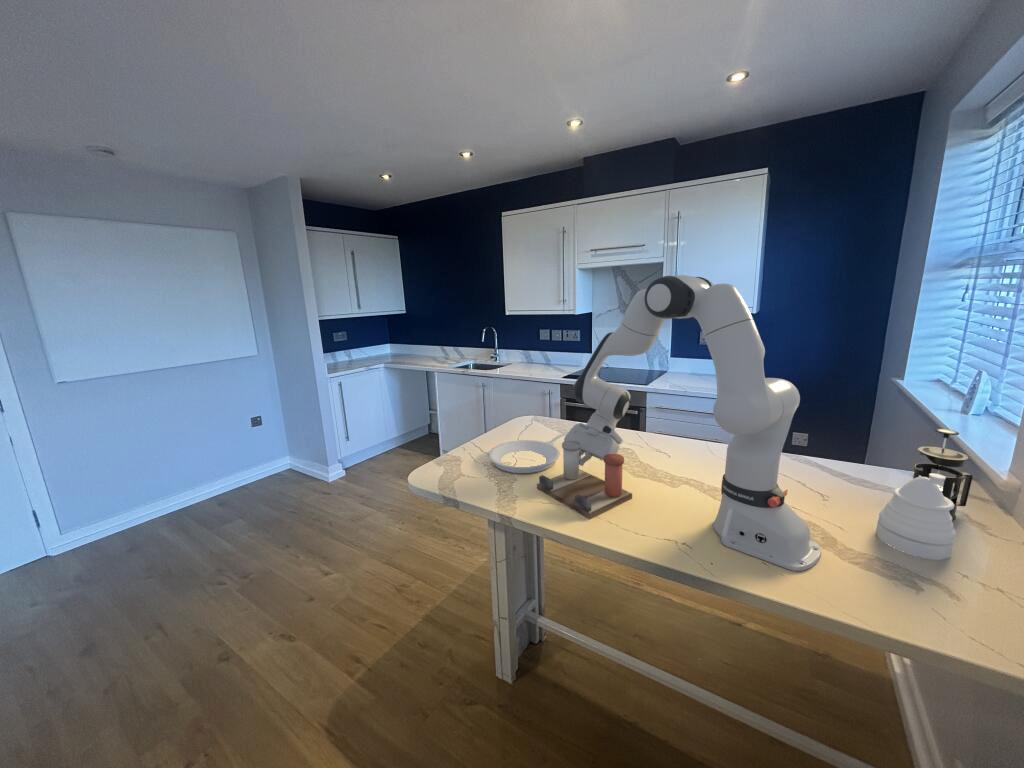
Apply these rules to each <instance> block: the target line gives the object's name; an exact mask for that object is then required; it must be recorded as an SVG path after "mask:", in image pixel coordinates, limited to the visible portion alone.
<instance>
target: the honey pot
mask: <svg viewBox="0 0 1024 768" xmlns="http://www.w3.org/2000/svg"><path fill="white" fill-rule="evenodd" d="M946 477H947V476H945V475H943V474H940V473H939V474H937V473H933V472H931V473H930V474H929V478H927V477H921V476H919V477H917V478H914V479H913V478H912V479H910V480H908V481H907V482H905V484H903V485H902V486H901V487H897V488H894V489H893V491H892V492H893V496H892V497H891V498H890V499H889V500H888V501H886V502H887V503H886V504H885V505H884V507H883V508H882V509H881V510H880V512H879V513H878V520H877V524H876V529H875V535H876V534H877V535H876V536H877V538H878V539H879V538H880V539H881V541H882V542H883V541H884V542H885V543H884V542H883V543H884V544H886V543H887V544H889V545H891V546H892V547H891V546H890V547H891V548H893V547H895V548H897V549H899V550H901V551H900V552H902V551H904V552H906V553H905V554H907V553H910V554H912V555H911V556H913V555H916V556H915V557H917V556H920V557H919V558H921V557H925V558H924V559H927V558H929V559H928V560H946V559H949V558H950V557H951V556H952V552H953V548H954V544H955V541H956V535H957V533H956V530H955V528H954V522H953V521H952V516H951V515H950V512H949V511H950V510H952V509H954V506H955V505H954V503H953V502H952V501H951V500H949V499H948V498H946V497H944V496H943V494H942V492H941V490H940V488H939V487H938V486H937V485H940V484H944V481H945V479H946ZM880 539H879V540H880ZM887 544H886V545H887ZM889 545H888V546H889ZM895 548H894V549H895ZM897 549H896V550H897ZM899 550H898V551H899ZM904 552H903V553H904ZM910 554H909V555H910Z"/></svg>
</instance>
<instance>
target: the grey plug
mask: <svg viewBox="0 0 1024 768" xmlns="http://www.w3.org/2000/svg"><path fill="white" fill-rule="evenodd" d="M561 448H562V449H563V450H562V453H563V455H562V456H563V474H564V477H565V478H567V479H577V478H578V477H579V469H580V465H579V449H580V443H579V442H577V441H565V442H564V441H562V443H561Z"/></svg>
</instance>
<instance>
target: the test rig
mask: <svg viewBox="0 0 1024 768" xmlns="http://www.w3.org/2000/svg"><path fill="white" fill-rule="evenodd" d="M538 480H539V482H538V483H536V489H537V490H539V491H540V492H543V493H544V494H546V495H547V496H549V497H551V498H552V499H554V500H556V501H558V502H560V503H561V504H563V505H564V506H567V507H568V508H569V509H571V510H573V511H575V512H576V513H578V514H580V515H581V516H582V517H583V516H584V517H585V518H587V519H589V520H591V519H593V518H595V517H597V516H600V515H602V514H603V513H605V512H608V511H610V510H611V509H614V508H616V507H618V506H620V505H622V504H624V503H626V502H627V501H630V500H632V499H633V493H632V492H629V491H628V490H626V489H624V488H622V494H621V495H620V496H617V497H612V496H608V495H606V494H605V479H601V478H599V477H596V476H595V475H593V474H591V473H589V472H586V471H584V470H582V469H580V468H579V477H578V478H577V479H567V478H565V477H564V473H562V474H559V475H557V476H554V477H552V478H549V477H547V476H545V475H543V474H542V475H539V478H538Z"/></svg>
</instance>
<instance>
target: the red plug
mask: <svg viewBox="0 0 1024 768" xmlns="http://www.w3.org/2000/svg"><path fill="white" fill-rule="evenodd" d="M603 462H604V481H605V494H606V495H608V496H612V497H617V496H620V495H621V494H622V489H623V464H624V463H625V457H624V456H623V455H621V454H618V453H617V454H607V455H605V456H604V461H603Z"/></svg>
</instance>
